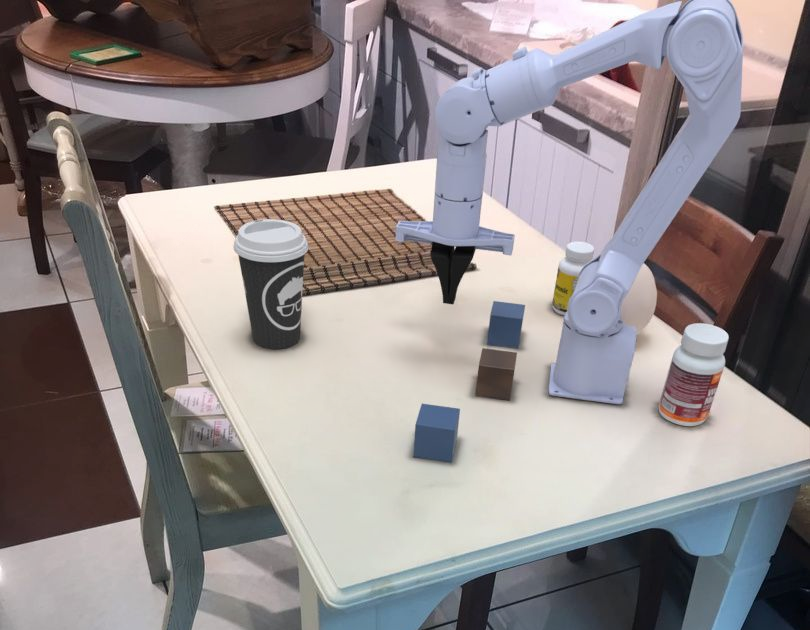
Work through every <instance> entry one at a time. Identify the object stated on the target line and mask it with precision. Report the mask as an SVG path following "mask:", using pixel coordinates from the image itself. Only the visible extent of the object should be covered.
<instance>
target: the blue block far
mask: <svg viewBox="0 0 810 630" xmlns="http://www.w3.org/2000/svg"><path fill="white" fill-rule="evenodd" d="M491 305H492V306H491V310H490V315H489V322H488V323H489V324H488V330H487V337H486V345H489V346H498V347H505V348H513V349H519V348H520V341H521V335H522V330H523V329H522V328H523V322H524V315H525V308H526V304H522V303H513V302H505V301H497V300H493V302H492V304H491Z"/></svg>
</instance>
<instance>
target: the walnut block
mask: <svg viewBox="0 0 810 630" xmlns="http://www.w3.org/2000/svg"><path fill="white" fill-rule="evenodd" d="M517 358H518V352H516V351H509V350H501V349H493V348H487V347H486V348H485V347H482V348H481V353H480V357H479V362H478V366H477V367H478V368H477V376H476V382H475V383H476V385H475V392H474V396H475V397H478V398H479V397H480V398H487V399H495V400H501V401H502V400H503V401H511V396H512V391H513V384H514V377H515V370H516V364H517V363H516V362H517Z"/></svg>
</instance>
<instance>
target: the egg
mask: <svg viewBox="0 0 810 630" xmlns="http://www.w3.org/2000/svg"><path fill="white" fill-rule="evenodd" d="M657 299H658V290H657V286H656V279H655V276H654V274H653V272H652V270H651V269H650V268H649V266H648V265H647V264H646V263H645V262H644V263H643V265H642V266H641V268H640V270H639V272H638V274H637V276H636V278H635V280H634V282H633V284H632V286H631V288H630V290H629V292H628V293H627V295H626V296H625V298H624V300H623V303H622V307H621V315H620V316H621V318H622V319H623V323H624V324H626V325H630V326H634V327H636V328H637V335H638V334H640V333H641V332H642V331H643V330H644V329H645V328H646V327H647V326H648V325H649V324H650V323H651V320H652V319H653V316H654V314H655V311H656V307H657Z"/></svg>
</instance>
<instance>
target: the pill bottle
mask: <svg viewBox="0 0 810 630" xmlns="http://www.w3.org/2000/svg"><path fill="white" fill-rule="evenodd" d="M729 339H730V337H729V334H728V332H726V331H725V330H724V329H723V328H721V327H719V326H716V325H714V324H710V323H702V322H696V323H691V324H688V325H686V327H685V328H684V331H683V334H682V336H681V340H680V345H679V346H677V347H676V348H675V350H674V352H673V354H672V357H671V359H670V360H671V361H670V365H669V368H668V371H667V375H666V379H665V382H664V386H663V389H662V393H661V396H660V399H659V403H658V412H659V415H661V416H662V418H664V419H665V420H667V421H669V422H671V423H673V424H676V425H678V426H684V427H694V426H699V425H702V424H703V423H704V422H705V421H706V420H707V418H708V417H709V414H710V411H711V408H712V406H713V402H714V400H715V396H716V393H717V390H718V387H719V384H720V381H721V378H722V375H723V373H724V369H725V366H726V358H725V355H724V354H725V352H726V349H727V346H728V342H729Z"/></svg>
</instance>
